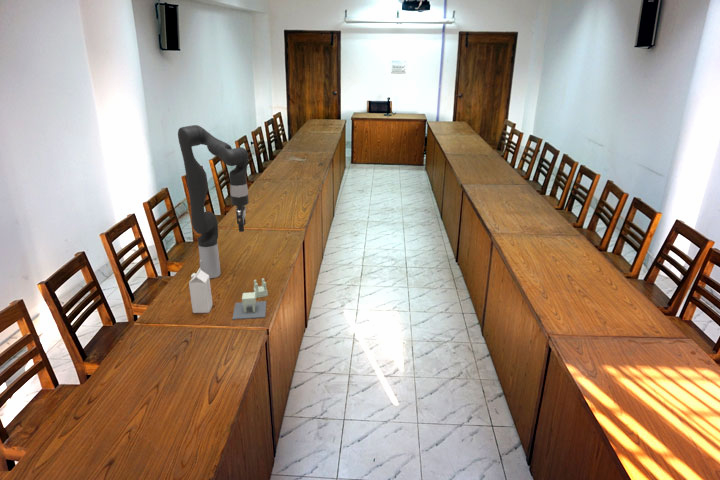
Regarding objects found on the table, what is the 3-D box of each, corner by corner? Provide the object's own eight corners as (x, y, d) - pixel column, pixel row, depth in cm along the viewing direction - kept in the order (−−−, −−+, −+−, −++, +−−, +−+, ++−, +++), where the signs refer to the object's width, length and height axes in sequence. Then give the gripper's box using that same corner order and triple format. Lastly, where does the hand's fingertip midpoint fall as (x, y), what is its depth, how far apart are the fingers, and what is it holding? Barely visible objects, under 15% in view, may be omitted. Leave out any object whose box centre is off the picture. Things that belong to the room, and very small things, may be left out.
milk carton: (212, 305, 231) (208, 267, 223) (209, 313, 224) (204, 274, 217) (197, 305, 230) (192, 267, 223) (192, 313, 224) (187, 274, 217)
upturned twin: (256, 298, 237) (255, 284, 234) (253, 293, 242) (252, 279, 239) (267, 296, 239) (266, 282, 236) (265, 290, 244) (264, 277, 241)
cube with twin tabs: (243, 312, 223) (241, 298, 220) (244, 306, 228) (242, 293, 226) (256, 312, 224) (254, 298, 221) (256, 305, 229) (255, 292, 226)
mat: (232, 319, 219) (232, 318, 219) (235, 303, 232) (235, 302, 231) (265, 317, 221) (265, 316, 220) (266, 302, 233) (266, 300, 233)
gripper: (232, 189, 229) (235, 222, 235) (228, 198, 216) (232, 234, 222) (249, 188, 230) (251, 222, 236) (246, 198, 217) (249, 233, 223)
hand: (242, 228), depth 229 cm, fingers open, 8 cm apart
